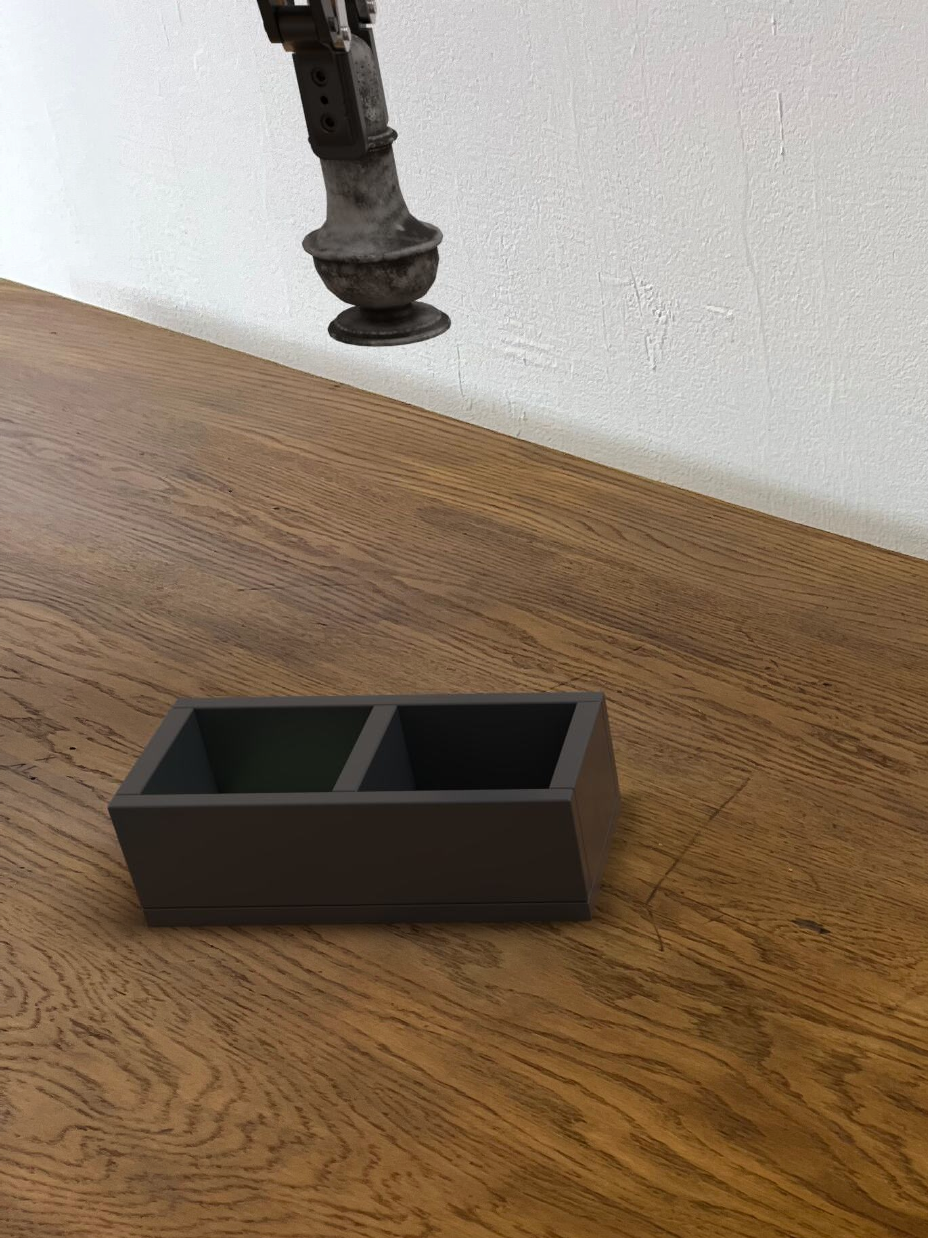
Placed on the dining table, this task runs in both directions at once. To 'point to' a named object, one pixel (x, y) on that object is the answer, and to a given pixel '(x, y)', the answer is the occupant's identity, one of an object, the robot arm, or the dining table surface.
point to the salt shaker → (375, 237)
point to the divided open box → (372, 810)
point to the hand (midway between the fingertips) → (352, 142)
